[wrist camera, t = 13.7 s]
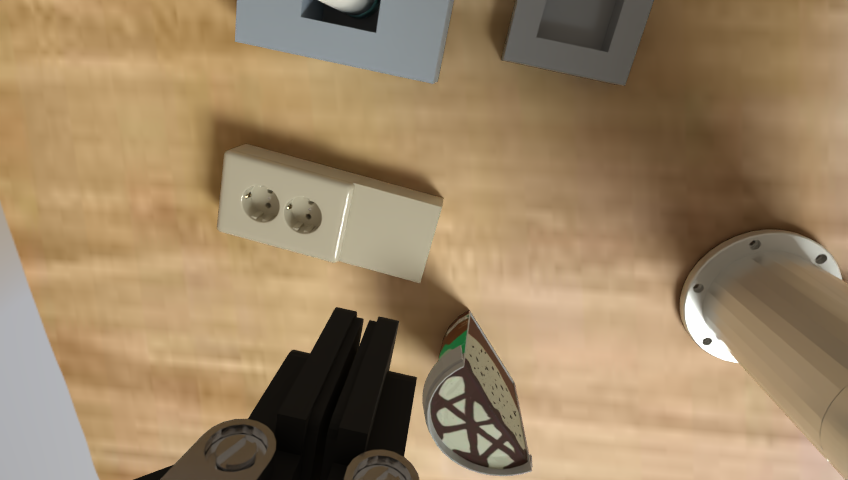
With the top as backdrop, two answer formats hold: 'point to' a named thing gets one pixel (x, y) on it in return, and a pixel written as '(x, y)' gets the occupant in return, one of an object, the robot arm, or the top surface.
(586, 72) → the grey square socket base
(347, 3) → the plug
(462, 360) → the food container
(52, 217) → the top surface
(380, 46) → the port block
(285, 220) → the electrical outlet
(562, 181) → the top surface
